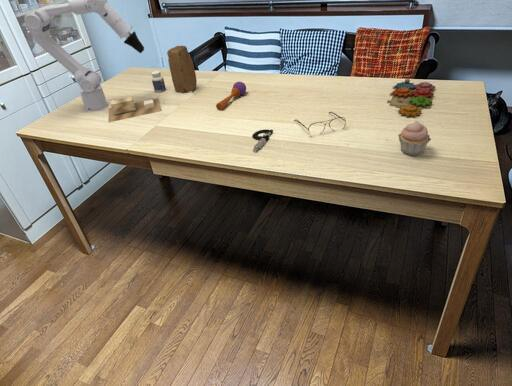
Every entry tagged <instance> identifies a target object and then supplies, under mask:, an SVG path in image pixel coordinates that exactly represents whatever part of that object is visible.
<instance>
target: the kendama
mask: <svg viewBox="0 0 512 386" xmlns="http://www.w3.org/2000/svg"><path fill="white" fill-rule="evenodd" d="M246 91H247V85H246V83H244V82H243V81H237V82H234V83H233V85H232V88H231V93H230V95H228V96H227V97H226V98H224V99H222V100H220V101H219V102H218V103H216V105H215V108H216V110H218V111H223V110H224V109H225V107H226V106H227V105H228V103H229V102H230V101H231V100H232V99H233V97H234V98H235V97H239V96H243V95H244V94H246Z"/></svg>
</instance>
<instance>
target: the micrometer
mask: <svg viewBox="0 0 512 386" xmlns="http://www.w3.org/2000/svg"><path fill="white" fill-rule="evenodd" d="M273 132H274V129H260V130H257V131H255V132H254V133H253V134H252V138H253V139H254V140H255V141H257V143H256V144H255V145H253V148H252V151H253V153H257V152H258V151H260V150H261V149H262V147H264V146H265V144H266V142H268V140H269V139H270V135H272V134H273ZM260 134H261V135H260ZM262 134H263V135H262Z"/></svg>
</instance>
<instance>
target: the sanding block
mask: <svg viewBox="0 0 512 386" xmlns="http://www.w3.org/2000/svg"><path fill="white" fill-rule="evenodd" d="M134 103H135V101H134V98H133V96H129V97H123V98H118V99H114V100H110V106H111V107H110V108H112V109H113V112H114V115H115V116H116V115H120V114H125V113H130V112H134V111H136V107H135V104H134Z"/></svg>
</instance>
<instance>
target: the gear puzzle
mask: <svg viewBox="0 0 512 386" xmlns="http://www.w3.org/2000/svg"><path fill="white" fill-rule="evenodd" d="M391 88H392V89H393V91H392V92H390V93H389V96H390V97H391V96H392V97H391V99H387V101H386V104H389V106H390V107H395V109H398V110H397V113H398V114H400V115H401V116H405V117H410V116H411V117H413V118H414V117H417V116H421V113H422V110H424V109H425V110H429V109H431V107H432V106H431V105H432V104H433V97H434V95H435V93H434V90H435V89H436V86H435V85H433V84H432V83H430V82H427V81H422V82H419V83H418V84H415V83H414V82H411V80H410V78H405V80H404V81H401V82H397V83H396V84H395V85H394V86H392V87H391Z"/></svg>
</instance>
